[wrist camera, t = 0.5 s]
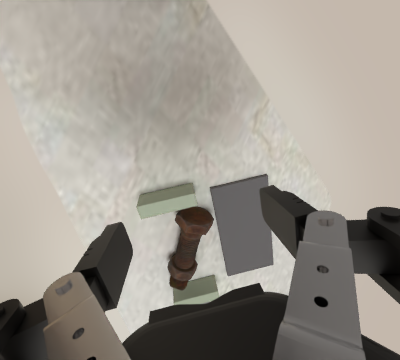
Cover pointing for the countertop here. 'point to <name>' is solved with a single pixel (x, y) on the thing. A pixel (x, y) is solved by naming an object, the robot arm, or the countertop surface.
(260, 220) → the mat
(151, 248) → the countertop surface
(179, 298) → the rails
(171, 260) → the bolt
